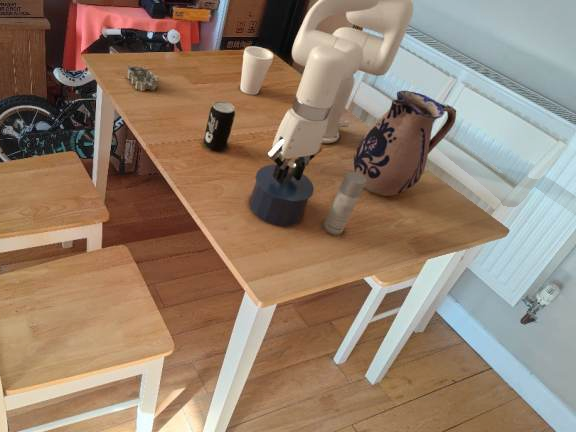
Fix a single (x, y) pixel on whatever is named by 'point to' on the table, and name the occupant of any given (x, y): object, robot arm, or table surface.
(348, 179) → the container
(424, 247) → the table surface
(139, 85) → the egg carton
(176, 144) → the table surface
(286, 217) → the tin
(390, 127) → the ceramic pitcher
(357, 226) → the table surface
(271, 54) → the foam cup
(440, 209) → the table surface
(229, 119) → the beverage can
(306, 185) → the lid
